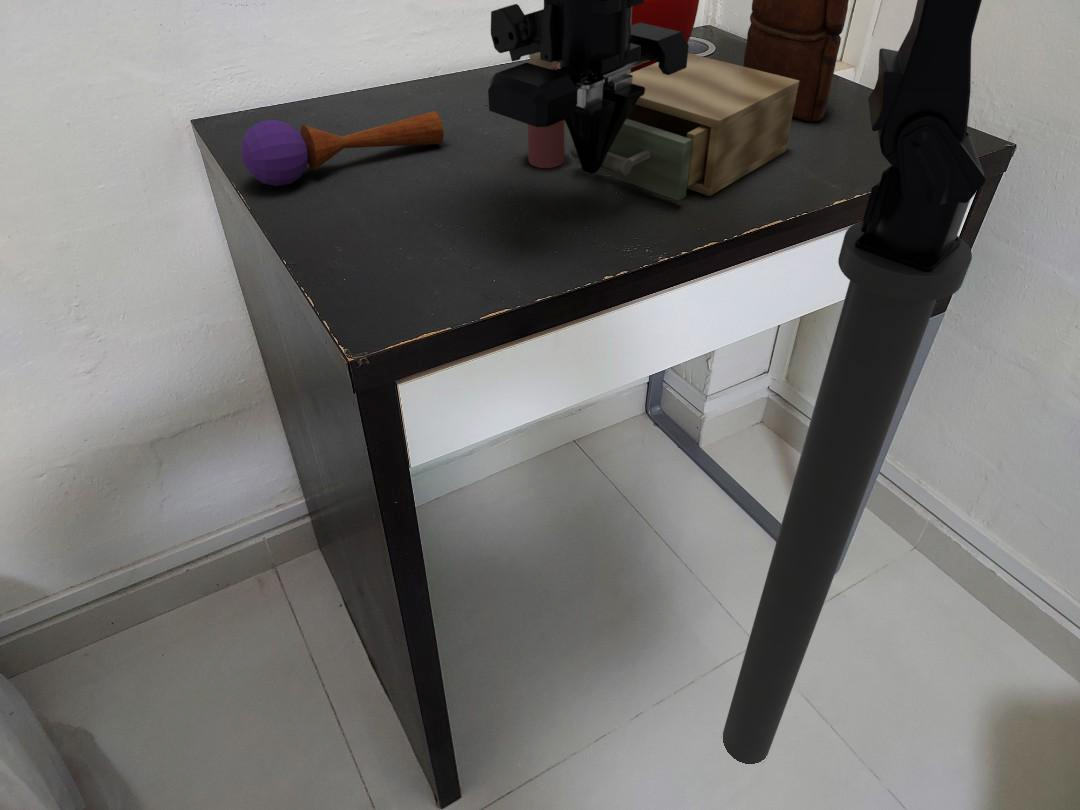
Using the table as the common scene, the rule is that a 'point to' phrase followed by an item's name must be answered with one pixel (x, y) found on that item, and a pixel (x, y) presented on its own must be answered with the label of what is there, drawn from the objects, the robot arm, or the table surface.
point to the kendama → (324, 145)
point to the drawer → (657, 152)
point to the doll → (546, 133)
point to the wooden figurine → (798, 47)
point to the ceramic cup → (666, 17)
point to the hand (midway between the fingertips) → (590, 171)
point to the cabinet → (725, 113)
